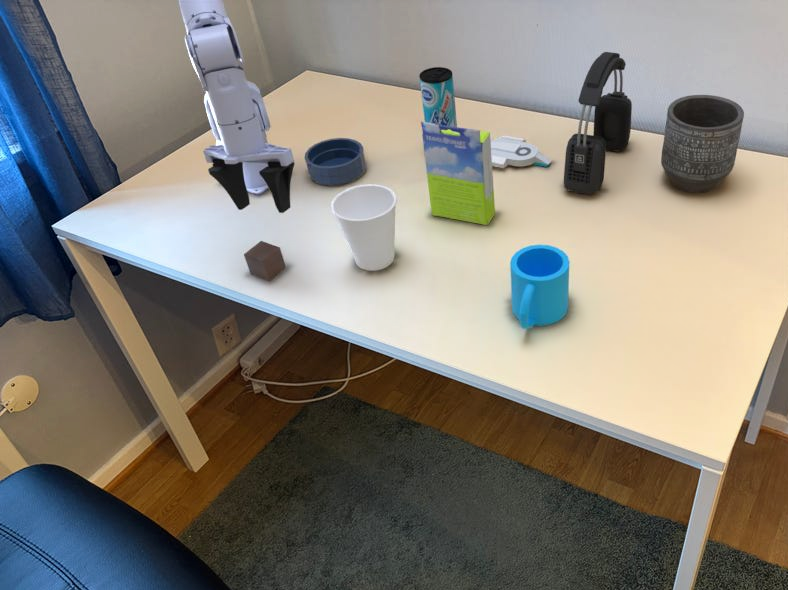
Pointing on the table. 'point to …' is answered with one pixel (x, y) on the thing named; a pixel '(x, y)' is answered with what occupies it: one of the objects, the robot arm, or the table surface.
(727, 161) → the planter
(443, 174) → the box
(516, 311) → the mug
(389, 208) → the cup
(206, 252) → the table surface
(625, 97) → the headphones
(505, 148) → the toy rocket
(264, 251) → the block
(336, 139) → the bowl
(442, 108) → the blue printed cylinder
